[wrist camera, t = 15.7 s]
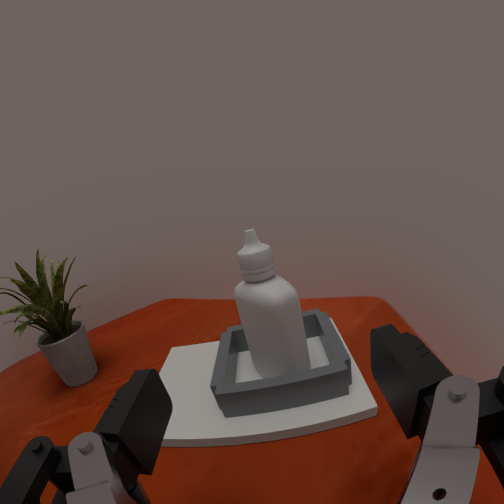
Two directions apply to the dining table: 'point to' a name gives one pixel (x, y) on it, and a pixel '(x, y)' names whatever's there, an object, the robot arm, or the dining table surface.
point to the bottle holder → (261, 390)
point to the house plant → (55, 324)
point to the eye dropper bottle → (269, 313)
